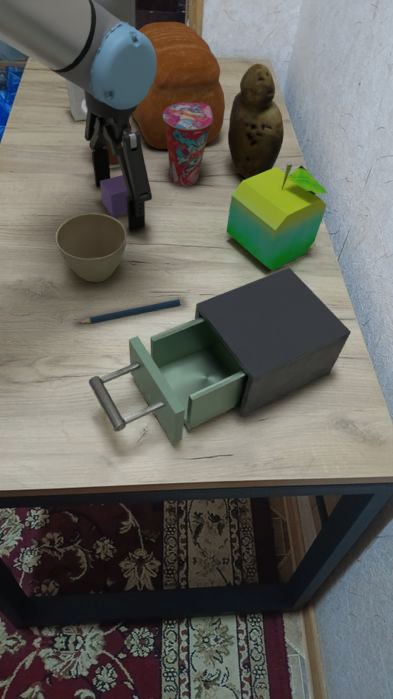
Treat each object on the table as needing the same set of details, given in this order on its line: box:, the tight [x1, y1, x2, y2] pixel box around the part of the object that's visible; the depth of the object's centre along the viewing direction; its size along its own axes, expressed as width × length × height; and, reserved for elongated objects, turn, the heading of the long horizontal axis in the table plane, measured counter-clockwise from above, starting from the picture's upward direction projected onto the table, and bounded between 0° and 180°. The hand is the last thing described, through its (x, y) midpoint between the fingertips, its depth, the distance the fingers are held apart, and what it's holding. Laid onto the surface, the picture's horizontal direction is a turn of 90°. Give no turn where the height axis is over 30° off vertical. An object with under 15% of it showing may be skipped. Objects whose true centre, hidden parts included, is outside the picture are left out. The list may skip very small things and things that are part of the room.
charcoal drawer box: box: [194, 267, 352, 419], centre depth 64 cm, size 15×13×9 cm
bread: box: [132, 21, 226, 150], centre depth 97 cm, size 18×22×17 cm
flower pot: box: [54, 212, 127, 283], centre depth 73 cm, size 10×10×7 cm
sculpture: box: [227, 63, 285, 179], centre depth 86 cm, size 13×8×20 cm, turn 11°
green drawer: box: [88, 316, 248, 445], centre depth 59 cm, size 20×11×7 cm, turn 121°
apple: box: [225, 164, 329, 271], centre depth 76 cm, size 11×10×15 cm
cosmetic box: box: [65, 79, 86, 122], centre depth 99 cm, size 6×4×12 cm
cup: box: [163, 103, 213, 187], centre depth 88 cm, size 9×8×12 cm
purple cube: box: [100, 174, 129, 218], centre depth 84 cm, size 4×4×4 cm
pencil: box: [78, 298, 181, 325], centre depth 71 cm, size 1×1×15 cm
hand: (119, 205), depth 86 cm, fingers open, 13 cm apart
